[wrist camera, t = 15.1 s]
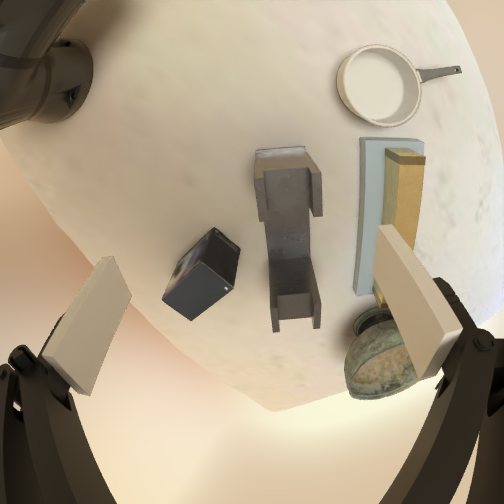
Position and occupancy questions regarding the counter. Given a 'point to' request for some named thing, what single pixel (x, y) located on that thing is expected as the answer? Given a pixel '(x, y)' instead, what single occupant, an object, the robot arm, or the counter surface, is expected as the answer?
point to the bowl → (378, 358)
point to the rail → (401, 198)
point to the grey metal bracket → (289, 229)
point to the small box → (203, 275)
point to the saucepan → (383, 84)
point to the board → (373, 203)
